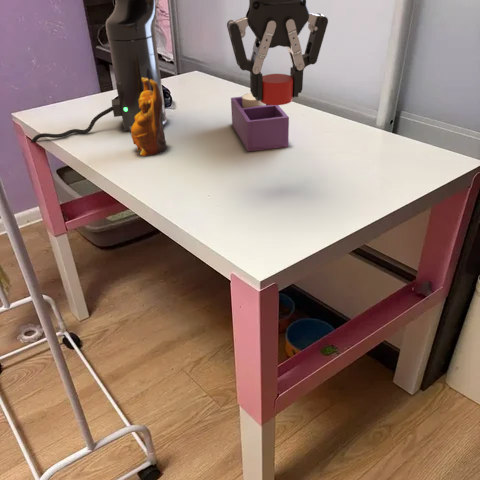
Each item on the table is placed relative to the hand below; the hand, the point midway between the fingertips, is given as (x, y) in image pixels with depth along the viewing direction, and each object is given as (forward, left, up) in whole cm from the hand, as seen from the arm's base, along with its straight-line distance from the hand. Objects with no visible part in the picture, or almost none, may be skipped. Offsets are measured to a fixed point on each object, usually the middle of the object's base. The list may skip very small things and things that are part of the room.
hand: (276, 97), depth 75 cm
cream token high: (+3, +28, -11) cm, 31 cm away
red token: (0, 0, 0) cm, 0 cm away
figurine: (-19, +24, -15) cm, 34 cm away
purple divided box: (+3, +25, -15) cm, 29 cm away
